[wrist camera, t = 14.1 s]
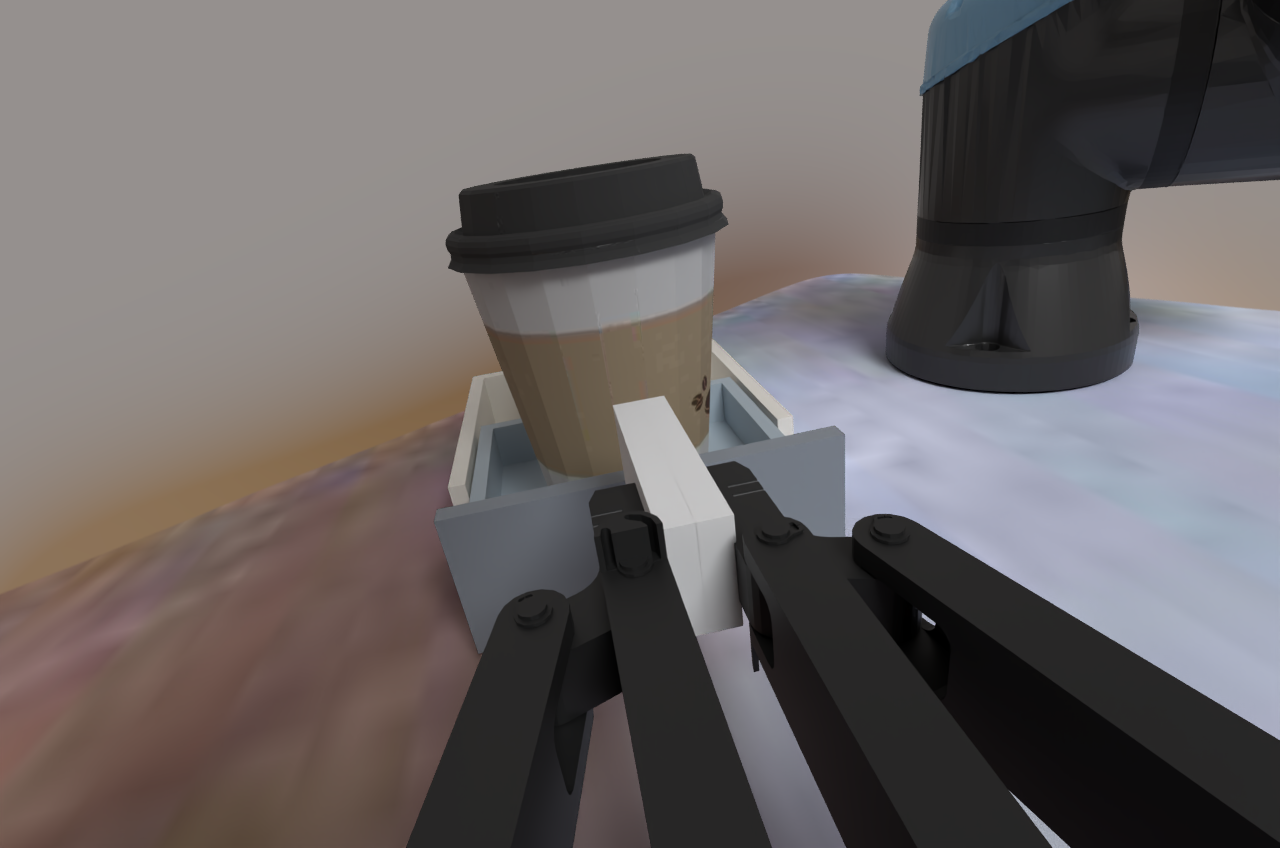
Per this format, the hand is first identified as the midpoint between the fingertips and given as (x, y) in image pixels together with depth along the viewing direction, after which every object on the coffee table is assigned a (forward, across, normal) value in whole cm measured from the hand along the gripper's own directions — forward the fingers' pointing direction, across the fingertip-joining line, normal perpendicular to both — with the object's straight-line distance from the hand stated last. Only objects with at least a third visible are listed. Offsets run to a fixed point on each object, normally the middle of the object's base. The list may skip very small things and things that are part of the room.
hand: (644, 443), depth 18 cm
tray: (+11, 0, -9) cm, 14 cm away
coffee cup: (+10, 0, -8) cm, 13 cm away
